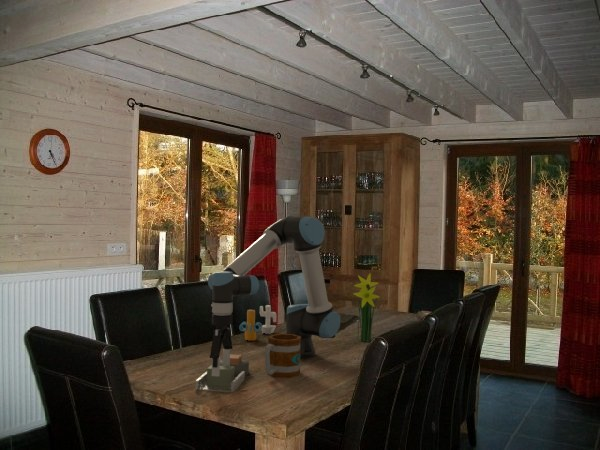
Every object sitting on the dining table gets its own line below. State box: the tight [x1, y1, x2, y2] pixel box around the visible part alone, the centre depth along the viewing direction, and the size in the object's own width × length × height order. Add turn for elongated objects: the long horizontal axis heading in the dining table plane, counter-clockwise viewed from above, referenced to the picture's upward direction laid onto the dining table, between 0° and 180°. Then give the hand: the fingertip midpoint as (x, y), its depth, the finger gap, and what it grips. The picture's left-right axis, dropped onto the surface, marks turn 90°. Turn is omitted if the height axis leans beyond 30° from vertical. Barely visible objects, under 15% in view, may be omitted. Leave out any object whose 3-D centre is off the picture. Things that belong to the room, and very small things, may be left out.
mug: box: [264, 333, 301, 379], centre depth 226 cm, size 20×14×15 cm
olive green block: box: [206, 364, 235, 386], centre depth 212 cm, size 9×5×6 cm, turn 82°
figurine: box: [259, 304, 277, 335], centre depth 311 cm, size 7×9×15 cm
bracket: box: [194, 370, 246, 393], centre depth 212 cm, size 14×16×4 cm
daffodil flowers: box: [352, 272, 381, 344], centre depth 292 cm, size 17×15×35 cm
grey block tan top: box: [220, 353, 250, 378], centre depth 228 cm, size 13×13×7 cm
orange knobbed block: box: [239, 309, 263, 342], centre depth 293 cm, size 12×10×15 cm
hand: (221, 371), depth 212 cm, fingers open, 13 cm apart
